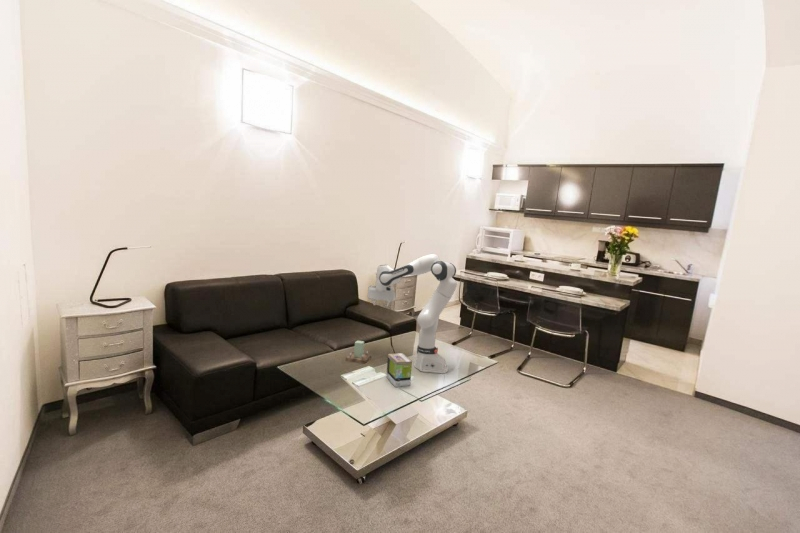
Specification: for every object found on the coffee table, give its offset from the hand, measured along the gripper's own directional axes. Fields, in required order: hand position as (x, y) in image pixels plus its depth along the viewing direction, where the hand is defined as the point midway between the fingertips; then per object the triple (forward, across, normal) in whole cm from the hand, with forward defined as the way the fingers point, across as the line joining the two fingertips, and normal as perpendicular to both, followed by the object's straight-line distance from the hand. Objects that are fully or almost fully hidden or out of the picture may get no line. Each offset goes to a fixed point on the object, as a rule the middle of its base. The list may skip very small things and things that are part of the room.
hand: (380, 305), depth 261 cm
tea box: (+34, +28, -44) cm, 62 cm away
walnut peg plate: (+34, -7, -20) cm, 40 cm away
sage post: (+32, -7, -20) cm, 38 cm away
